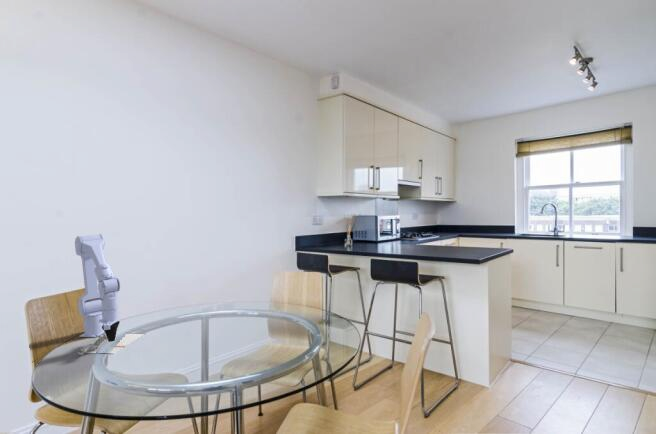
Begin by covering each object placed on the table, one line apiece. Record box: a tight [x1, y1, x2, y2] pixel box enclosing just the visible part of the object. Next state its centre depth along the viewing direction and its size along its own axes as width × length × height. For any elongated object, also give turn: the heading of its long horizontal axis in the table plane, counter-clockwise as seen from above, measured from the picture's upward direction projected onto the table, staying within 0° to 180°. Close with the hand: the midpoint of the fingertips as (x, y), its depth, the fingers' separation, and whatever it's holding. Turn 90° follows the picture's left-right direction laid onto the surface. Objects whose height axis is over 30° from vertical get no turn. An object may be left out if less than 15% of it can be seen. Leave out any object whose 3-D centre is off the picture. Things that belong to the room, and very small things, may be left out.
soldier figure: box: [77, 333, 108, 356], centre depth 138 cm, size 8×5×12 cm
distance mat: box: [84, 332, 147, 355], centre depth 145 cm, size 20×12×1 cm, turn 174°
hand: (111, 341), depth 142 cm, fingers closed
